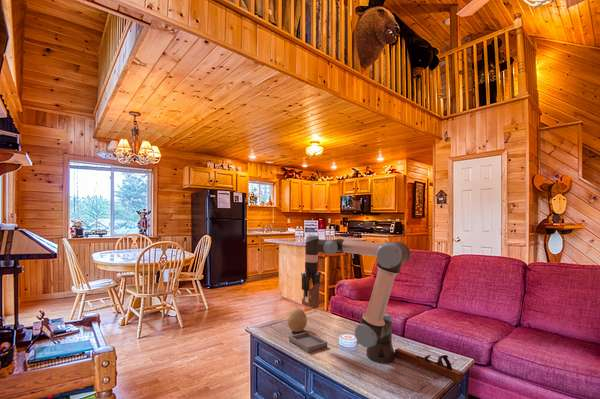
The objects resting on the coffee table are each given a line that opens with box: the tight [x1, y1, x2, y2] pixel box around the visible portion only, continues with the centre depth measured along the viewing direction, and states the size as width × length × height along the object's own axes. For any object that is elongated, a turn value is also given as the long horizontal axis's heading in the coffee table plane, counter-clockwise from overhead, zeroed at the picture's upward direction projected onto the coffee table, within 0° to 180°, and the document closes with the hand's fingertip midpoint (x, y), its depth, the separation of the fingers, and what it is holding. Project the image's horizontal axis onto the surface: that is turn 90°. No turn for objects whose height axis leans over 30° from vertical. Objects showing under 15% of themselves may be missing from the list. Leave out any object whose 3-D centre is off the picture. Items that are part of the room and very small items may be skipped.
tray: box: [288, 331, 328, 354], centre depth 183 cm, size 19×14×3 cm
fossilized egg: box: [286, 307, 308, 333], centre depth 203 cm, size 13×13×15 cm
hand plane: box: [394, 347, 464, 384], centre depth 158 cm, size 34×5×10 cm, turn 44°
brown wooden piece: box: [301, 277, 320, 310], centre depth 184 cm, size 4×11×18 cm, turn 44°
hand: (310, 301), depth 183 cm, fingers closed on brown wooden piece, 4 cm apart
